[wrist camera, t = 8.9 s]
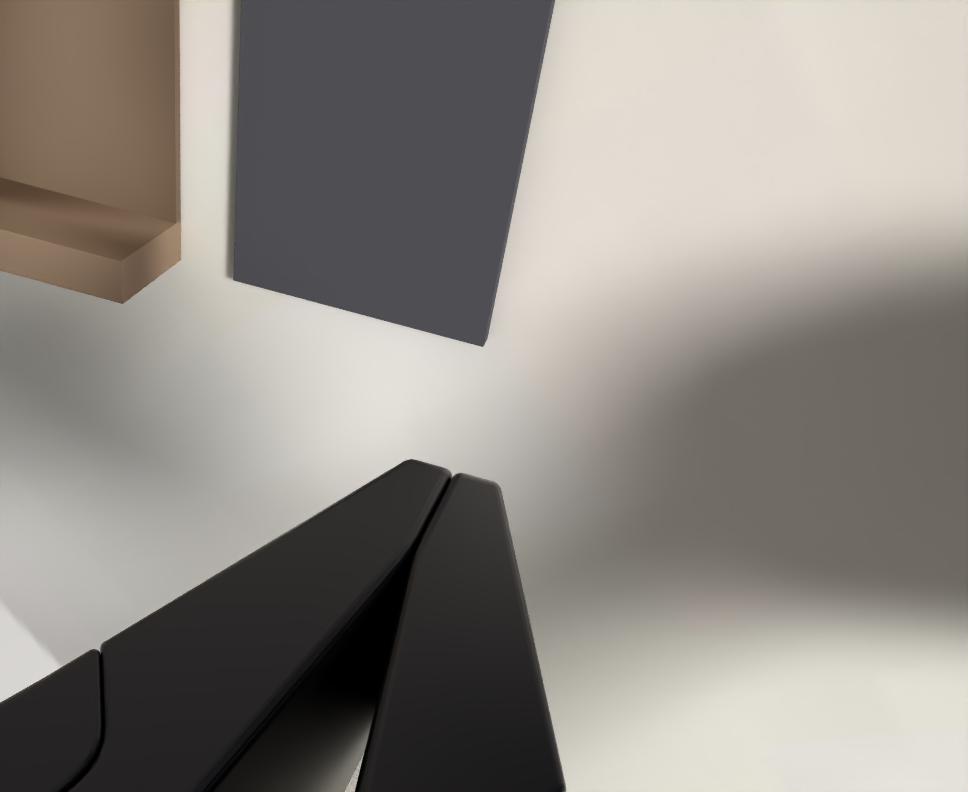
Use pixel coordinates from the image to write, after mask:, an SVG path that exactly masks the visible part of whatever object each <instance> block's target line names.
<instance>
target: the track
mask: <svg viewBox="0 0 968 792" xmlns="http://www.w3.org/2000/svg"><path fill="white" fill-rule="evenodd" d="M180 260H181V216H180V48H179V0H0V270H1V271H5V272H8V273H12V274H16V275H19V276H23V277H27V278H30V279H34V280H38V281H41V282H45V283H49V284H52V285H56V286H60V287H63V288H67V289H71V290H74V291H78V292H82V293H85V294H89V295H93V296H96V297H100V298H104V299H107V300H111V301H114V302H118V303H122V304H123V303H124V302H126V301H127V300H128V299H130V298H131V297H132V296H134V295H135V294H136V293H138V292H139V291H140V290H142V289H143V288H144V287H146V286H147V285H148V284H149V283H151V282H152V281H153V280H155V279H156V278H157V277H159V276H160V275H161V274H163V273H164V272H165V271H167V270H168V269H169V268H171V267H172V266H173V265H175V264H176V263H177V262H178V261H180Z"/></svg>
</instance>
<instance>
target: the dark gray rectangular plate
mask: <svg viewBox="0 0 968 792" xmlns="http://www.w3.org/2000/svg"><path fill="white" fill-rule="evenodd" d="M554 3H555V0H241V29H240V65H239V100H238V136H237V171H236V207H235V242H234V278H233V280H235V281H238V282H242V283H246V284H249V285H253V286H257V287H261V288H264V289H268V290H272V291H276V292H279V293H283V294H287V295H291V296H294V297H298V298H302V299H306V300H309V301H313V302H317V303H321V304H324V305H328V306H332V307H336V308H339V309H343V310H347V311H351V312H354V313H358V314H362V315H366V316H369V317H373V318H377V319H381V320H384V321H388V322H392V323H396V324H399V325H403V326H407V327H411V328H414V329H418V330H422V331H425V332H429V333H433V334H437V335H440V336H444V337H448V338H452V339H455V340H459V341H463V342H467V343H470V344H474V345H478V346H482V347H483V346H484V344H485V342H486V340H487V337H488V332H489V327H490V322H491V317H492V312H493V307H494V302H495V297H496V292H497V287H498V282H499V277H500V272H501V267H502V262H503V257H504V252H505V247H506V242H507V237H508V232H509V227H510V222H511V217H512V212H513V207H514V202H515V197H516V192H517V187H518V182H519V177H520V172H521V168H522V163H523V158H524V153H525V148H526V143H527V138H528V133H529V128H530V123H531V118H532V113H533V108H534V103H535V98H536V93H537V88H538V83H539V78H540V73H541V68H542V63H543V58H544V53H545V48H546V43H547V38H548V33H549V28H550V23H551V18H552V13H553V8H554Z"/></svg>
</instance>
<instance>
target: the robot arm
mask: <svg viewBox="0 0 968 792" xmlns="http://www.w3.org/2000/svg"><path fill="white" fill-rule="evenodd" d="M100 652H101V655H100ZM100 652H99V651H98V650H96V649H92V650H90V651H88V652H86V653H85V654H83V655H81V656H80V657H78V658H76V659H75V660H73V661H71V662H70V663H68V664H66V665H65V666H63V667H61V668H60V669H58V670H56V671H55V672H53V673H51V674H50V675H48V676H46V677H45V678H43V679H41V680H39V681H38V682H36V683H34V684H32V685H31V686H29V687H27V688H25V689H23V690H22V691H20V692H18V693H16V694H15V695H13V696H11V697H9V698H8V699H6V700H4V701H2V702H1V703H0V792H344V791H345V789H346V787H347V785H348V783H349V781H350V779H351V777H352V775H353V773H354V771H355V769H356V767H357V765H358V763H359V761H360V759H361V757H362V755H363V753H364V756H363V760H362V764H361V768H360V773H359V777H358V781H357V785H356V789H355V792H566V785H565V780H564V775H563V771H562V766H561V762H560V757H559V753H558V748H557V743H556V739H555V734H554V730H553V725H552V721H551V716H550V711H549V707H548V702H547V698H546V693H545V688H544V684H543V679H542V675H541V670H540V666H539V661H538V656H537V652H536V647H535V643H534V638H533V633H532V629H531V624H530V620H529V615H528V611H527V606H526V601H525V597H524V592H523V588H522V583H521V579H520V574H519V569H518V565H517V560H516V556H515V551H514V546H513V542H512V537H511V533H510V528H509V524H508V519H507V514H506V510H505V505H504V501H503V496H502V492H501V489H500V486H499V485H498V484H497V483H495V482H493V481H489V480H486V479H482V478H479V477H475V476H472V475H468V474H464V473H458V474H456V475H454V476H453V477H452V474H451V472H450V471H449V470H448V469H446V468H443V467H439V466H436V465H432V464H429V463H425V462H422V461H418V460H413V459H410V460H406V461H404V462H402V463H401V464H399V465H397V466H396V467H394V468H392V469H391V470H389V471H387V472H386V473H384V474H382V475H381V476H379V477H377V478H376V479H374V480H372V481H371V482H369V483H367V484H366V485H364V486H362V487H361V488H359V489H357V490H356V491H354V492H352V493H351V494H349V495H347V496H346V497H344V498H342V499H341V500H339V501H338V502H336V503H334V504H333V505H331V506H329V507H328V508H326V509H324V510H323V511H321V512H319V513H318V514H316V515H314V516H313V517H311V518H309V519H308V520H306V521H304V522H303V523H301V524H299V525H298V526H296V527H294V528H293V529H291V530H289V531H288V532H286V533H284V534H283V535H281V536H279V537H278V538H276V539H274V540H273V541H271V542H269V543H268V544H266V545H265V546H263V547H261V548H260V549H258V550H256V551H255V552H253V553H251V554H250V555H248V556H246V557H245V558H243V559H241V560H240V561H238V562H236V563H235V564H233V565H231V566H230V567H228V568H226V569H225V570H223V571H221V572H220V573H218V574H216V575H215V576H213V577H211V578H210V579H208V580H206V581H205V582H203V583H201V584H200V585H198V586H197V587H195V588H193V589H192V590H190V591H188V592H187V593H185V594H183V595H182V596H180V597H178V598H177V599H175V600H173V601H172V602H170V603H168V604H167V605H165V606H163V607H162V608H160V609H158V610H157V611H155V612H153V613H152V614H150V615H148V616H147V617H145V618H143V619H142V620H140V621H138V622H137V623H135V624H133V625H132V626H130V627H128V628H127V629H125V630H124V631H122V632H120V633H119V634H117V635H115V636H114V637H112V638H110V639H109V640H107V641H105V642H104V643H103V644H102V645H101V648H100ZM364 751H365V752H364Z"/></svg>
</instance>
